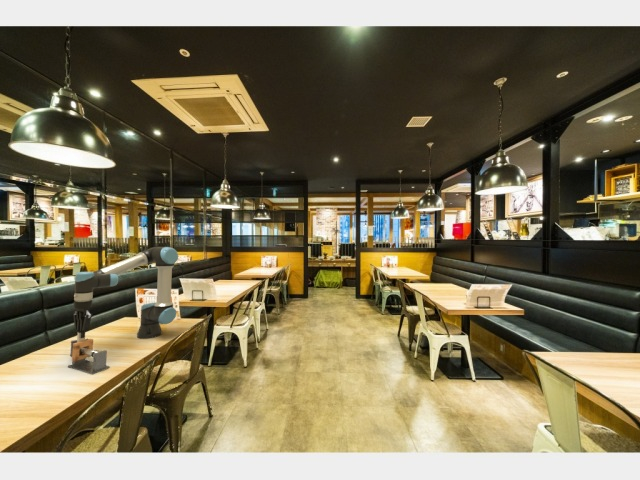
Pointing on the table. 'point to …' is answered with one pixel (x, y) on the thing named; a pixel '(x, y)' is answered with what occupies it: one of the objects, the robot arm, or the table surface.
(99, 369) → the pipe rail
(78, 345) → the orange square ring
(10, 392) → the table surface
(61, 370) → the table surface
